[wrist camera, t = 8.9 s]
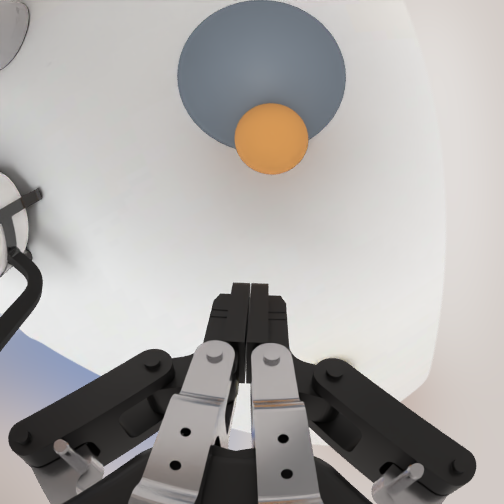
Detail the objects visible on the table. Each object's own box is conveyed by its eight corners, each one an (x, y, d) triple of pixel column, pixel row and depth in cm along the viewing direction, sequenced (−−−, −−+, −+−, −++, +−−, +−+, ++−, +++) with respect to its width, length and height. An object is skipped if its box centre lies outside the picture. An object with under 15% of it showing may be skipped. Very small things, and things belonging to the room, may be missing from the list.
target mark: (179, 152, 24) (178, 153, 24) (180, 5, 18) (179, 5, 18) (340, 157, 24) (341, 157, 24) (344, 8, 17) (345, 7, 17)
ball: (237, 117, 17) (247, 84, 20) (223, 179, 21) (233, 139, 24) (322, 139, 18) (315, 103, 21) (295, 196, 22) (294, 154, 25)
